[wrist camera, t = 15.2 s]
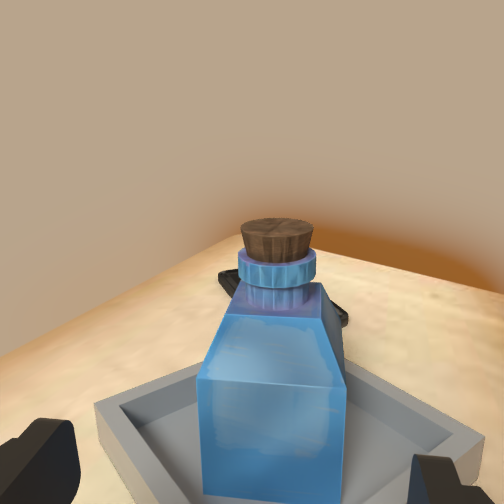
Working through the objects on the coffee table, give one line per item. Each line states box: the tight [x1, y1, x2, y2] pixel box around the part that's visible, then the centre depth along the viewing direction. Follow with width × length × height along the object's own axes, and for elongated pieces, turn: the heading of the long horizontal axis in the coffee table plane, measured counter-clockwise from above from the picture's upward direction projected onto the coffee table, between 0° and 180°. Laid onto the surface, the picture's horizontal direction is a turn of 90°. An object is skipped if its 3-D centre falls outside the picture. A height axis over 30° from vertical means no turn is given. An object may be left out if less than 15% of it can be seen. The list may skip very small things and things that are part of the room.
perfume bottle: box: [196, 218, 347, 504], centre depth 21 cm, size 6×6×12 cm
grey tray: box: [94, 358, 485, 504], centre depth 23 cm, size 14×14×2 cm
